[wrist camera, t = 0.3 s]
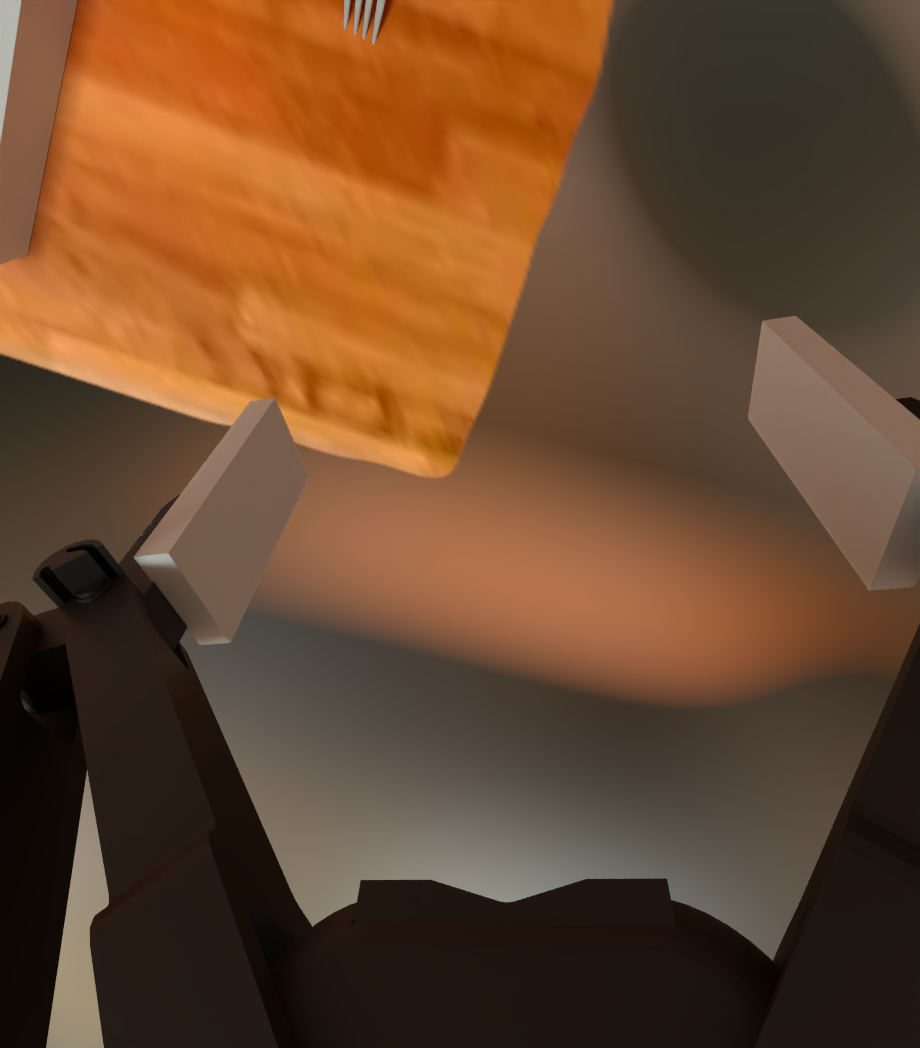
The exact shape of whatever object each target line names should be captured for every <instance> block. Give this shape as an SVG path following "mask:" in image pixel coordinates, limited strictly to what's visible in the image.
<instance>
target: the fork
mask: <svg viewBox="0 0 920 1048" xmlns="http://www.w3.org/2000/svg"><path fill="white" fill-rule="evenodd" d="M385 1H386V0H377V6H376V13H375V21H374V29H373V37H372V44H373V45H374V44H375V42H376V39H377V35H378V31H379V27H380V23H381V18H382V14H383V10H384V5H385ZM350 2H351V0H344V29H345V30H346V28H347V26H348V18H349V10H350ZM372 3H373V0H366V4H365V14H364V24H363V37H362V39H365V37H366V34H367V29H368V24H369V19H370V13H371V8H372ZM361 5H362V0H356V2H355V17H354V34H355V35H356V33H357V30H358V24H359V18H360V11H361Z"/></svg>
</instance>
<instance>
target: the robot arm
mask: <svg viewBox="0 0 920 1048" xmlns="http://www.w3.org/2000/svg"><path fill="white" fill-rule="evenodd" d="M748 420H749V421H750V422H751V424H752V425H753V427H754V428H755V430H756V431H757V432H758V434H759V435H760V437H761V438H762V439H763V441H764V442H765V444H766V445H767V447H768V448H769V449H770V451H771V452H772V454H773V455H774V456H775V457H776V459H777V460H778V462H779V464H780V465H781V466H782V468H783V469H784V470H785V472H786V473H787V475H788V476H789V478H790V479H791V481H792V482H793V483H794V485H795V486H796V488H797V489H798V490H799V492H800V493H801V495H802V496H803V497H804V499H805V500H806V502H807V503H808V504H809V506H810V507H811V509H812V510H813V512H814V513H815V515H816V516H817V517H818V519H819V520H820V522H821V523H822V524H823V526H824V527H825V529H826V530H827V531H828V533H829V534H830V536H831V537H832V539H833V540H834V541H835V543H836V544H837V546H838V547H839V548H840V550H841V551H842V553H843V554H844V556H845V557H846V558H847V560H848V561H849V563H850V564H851V565H852V567H853V568H854V570H855V571H856V572H857V574H858V575H859V577H860V578H861V580H862V581H863V582H864V584H865V585H866V587H867V588H868V590H883V589H895V588H907V587H915V585H916V583H917V581H918V579H919V576H920V401H919V400H916V399H914V398H912V397H909V398H901V399H894V398H893V397H892V396H891V395H889V394H888V393H887V392H886V391H885V390H883V389H882V388H881V387H880V386H879V385H878V384H876V383H875V382H874V381H873V380H872V379H870V378H869V377H868V376H867V375H866V374H864V373H863V372H862V371H861V370H860V369H859V368H857V367H856V366H855V365H854V364H852V363H851V362H850V361H849V360H848V359H847V358H845V357H844V356H843V355H842V354H841V353H839V352H838V351H837V350H836V349H835V348H833V347H832V346H831V345H830V344H829V343H827V342H826V341H825V340H824V339H823V338H821V337H820V336H819V335H818V334H817V333H816V332H814V331H813V330H812V329H811V328H809V327H808V326H807V325H806V324H805V323H804V322H802V321H801V320H800V319H799V318H797V317H796V316H790V317H785V318H778V319H772V320H765V321H762V327H761V334H760V340H759V347H758V353H757V360H756V367H755V374H754V380H753V386H752V393H751V400H750V406H749V413H748ZM308 477H309V475H308V473H307V471H306V468H305V466H304V464H303V461H302V459H301V457H300V454H299V452H298V450H297V448H296V445H295V443H294V441H293V438H292V436H291V434H290V431H289V429H288V427H287V424H286V422H285V420H284V417H283V415H282V413H281V411H280V408H279V406H278V404H277V401H276V399H275V398H270V399H264V400H257V401H251V402H250V403H249V404H248V406H247V407H246V408H245V410H244V411H243V412H242V414H241V415H240V416H239V418H238V419H237V420H236V422H235V423H234V424H233V426H232V427H231V428H230V429H229V431H228V432H227V434H226V435H225V436H224V437H223V439H222V440H221V442H220V443H219V444H218V445H217V447H216V448H215V449H214V451H213V452H212V453H211V455H210V456H209V458H208V459H207V460H206V462H205V463H204V464H203V465H202V467H201V468H200V469H199V471H198V472H197V473H196V475H195V476H194V478H193V479H192V480H191V481H190V483H189V484H188V485H187V487H186V488H185V489H184V491H183V492H182V493H181V495H178V496H177V497H176V498H174V499H173V500H172V501H170V502H169V503H168V504H167V505H165V506H164V507H163V508H162V509H161V510H160V511H159V513H158V514H157V515H156V517H155V518H154V519H153V520H152V524H151V525H149V526H148V527H147V528H146V529H145V531H144V532H143V536H140V537H139V539H138V540H137V541H136V542H135V544H134V545H133V546H132V548H131V549H130V550H129V552H128V553H127V554H126V555H125V557H124V558H123V559H122V561H121V562H120V563H119V564H118V563H117V562H116V561H115V560H114V558H113V557H112V556H111V554H110V553H109V552H108V551H107V550H106V548H105V547H104V545H103V544H101V542H100V541H98V540H85V541H80V542H76V543H74V544H71V545H69V546H66V547H64V548H62V549H61V550H59V551H57V552H55V553H54V554H52V555H51V556H50V557H48V558H47V559H46V560H45V561H44V562H42V563H41V565H40V566H39V567H38V568H37V569H36V571H35V572H34V576H33V580H34V581H35V582H36V583H37V585H38V586H39V587H40V588H41V589H42V590H43V591H44V592H45V593H46V594H47V595H48V596H49V597H50V599H52V601H53V602H54V603H55V604H56V605H57V606H58V607H59V608H56V609H53V610H50V611H47V612H44V613H40V614H38V615H35V616H33V615H32V614H31V613H30V612H29V611H28V610H27V609H26V608H25V607H24V606H23V605H22V604H21V603H19V602H6V603H2V604H0V1048H46V1044H47V1037H48V1030H49V1023H50V1017H51V1010H52V1003H53V996H54V989H55V982H56V976H57V969H58V962H59V955H60V949H61V942H62V935H63V928H64V921H65V915H66V908H67V901H68V895H69V888H70V881H71V874H72V868H73V861H74V854H75V847H76V841H77V834H78V827H79V820H80V813H81V807H82V799H83V793H84V786H85V779H86V772H87V770H88V776H89V782H90V787H91V793H92V799H93V805H94V811H95V816H96V822H97V828H98V834H99V840H100V845H101V851H102V857H103V863H104V868H105V875H106V880H107V886H108V892H109V905H108V906H107V907H106V908H105V909H103V910H102V911H101V912H100V913H98V914H97V915H95V916H94V918H93V921H92V924H91V926H90V948H91V955H92V963H93V970H94V977H95V984H96V992H97V1000H98V1007H99V1014H100V1022H101V1029H102V1036H103V1044H104V1048H920V624H919V626H918V629H917V631H916V633H915V635H914V638H913V640H912V642H911V645H910V647H909V650H908V652H907V654H906V657H905V659H904V661H903V663H902V666H901V668H900V671H899V673H898V675H897V678H896V680H895V682H894V685H893V687H892V689H891V691H890V694H889V696H888V698H887V701H886V703H885V705H884V708H883V710H882V712H881V714H880V717H879V719H878V721H877V724H876V726H875V729H874V731H873V733H872V735H871V738H870V740H869V742H868V745H867V747H866V749H865V752H864V754H863V756H862V759H861V761H860V763H859V766H858V768H857V770H856V773H855V775H854V778H853V780H852V782H851V785H850V787H849V789H848V791H847V794H846V796H845V798H844V801H843V803H842V805H841V808H840V810H839V812H838V815H837V817H836V819H835V821H834V824H833V826H832V829H831V831H830V833H829V835H828V838H827V840H826V842H825V845H824V847H823V849H822V852H821V854H820V856H819V859H818V861H817V864H816V866H815V868H814V870H813V873H812V875H811V877H810V880H809V882H808V884H807V887H806V889H805V891H804V894H803V896H802V898H801V900H800V903H799V905H798V907H797V909H796V911H795V913H794V915H793V918H792V920H791V922H790V924H789V926H788V928H787V930H786V932H785V935H784V937H783V939H782V941H781V943H780V946H779V948H778V950H777V952H776V955H775V957H774V960H773V961H772V960H771V959H770V958H769V957H768V956H767V955H765V954H764V953H763V952H762V951H761V950H760V949H759V948H758V947H756V946H755V945H754V944H753V943H752V942H751V941H749V940H748V939H746V938H745V937H744V936H742V935H741V934H740V933H738V932H737V931H736V930H734V929H733V928H731V927H730V926H728V925H727V924H725V923H723V922H721V921H720V920H718V919H716V918H714V917H713V916H711V915H709V914H707V913H705V912H703V911H700V910H698V909H696V908H693V907H691V906H689V905H686V904H683V903H680V902H676V901H673V900H671V898H670V892H669V887H668V882H667V879H585V880H582V881H579V882H576V883H572V884H569V885H566V886H563V887H560V888H556V889H554V890H550V891H547V892H544V893H540V894H537V895H534V896H531V897H528V898H525V899H521V900H518V901H514V902H507V903H506V902H500V901H496V900H493V899H490V898H487V897H483V896H481V895H477V894H474V893H471V892H467V891H465V890H461V889H458V888H455V887H452V886H449V885H445V884H442V883H439V882H436V881H433V880H361V882H360V888H359V894H358V900H357V903H354V904H351V905H349V906H347V907H344V908H342V909H340V910H338V911H336V912H334V913H333V914H331V915H329V916H328V917H326V918H325V919H323V920H321V921H320V922H318V923H317V924H316V925H314V926H313V927H312V925H311V924H310V922H309V921H308V919H307V918H306V916H305V915H304V913H303V912H302V910H301V909H300V907H299V905H298V904H297V902H296V900H295V898H294V896H293V894H292V892H291V890H290V888H289V885H288V883H287V881H286V878H285V876H284V874H283V871H282V869H281V867H280V865H279V862H278V860H277V858H276V855H275V853H274V851H273V848H272V846H271V844H270V842H269V839H268V837H267V835H266V832H265V830H264V828H263V826H262V823H261V821H260V819H259V816H258V814H257V812H256V809H255V807H254V805H253V802H252V800H251V798H250V796H249V793H248V791H247V789H246V786H245V784H244V782H243V779H242V777H241V775H240V773H239V770H238V768H237V766H236V763H235V761H234V759H233V756H232V754H231V752H230V750H229V747H228V745H227V743H226V741H225V738H224V736H223V733H222V731H221V729H220V726H219V724H218V722H217V720H216V717H215V715H214V713H213V710H212V708H211V706H210V704H209V701H208V699H207V697H206V694H205V692H204V690H203V687H202V685H201V683H200V680H199V678H198V676H197V674H196V671H195V669H194V667H193V664H192V662H191V660H190V657H189V655H188V653H187V651H186V650H185V649H184V647H183V646H182V645H181V643H180V642H179V641H180V640H181V638H182V636H183V634H184V632H185V630H186V629H188V630H189V631H190V633H191V634H192V635H193V637H194V638H195V639H196V641H197V642H198V643H199V645H208V644H220V643H230V642H231V640H232V638H233V636H234V634H235V632H236V630H237V628H238V626H239V623H240V621H241V619H242V617H243V615H244V613H245V611H246V609H247V607H248V604H249V602H250V600H251V598H252V596H253V593H254V592H255V590H256V587H257V585H258V583H259V581H260V579H261V577H262V575H263V572H264V570H265V568H266V566H267V564H268V562H269V560H270V557H271V555H272V553H273V551H274V549H275V547H276V545H277V543H278V541H279V538H280V536H281V534H282V532H283V530H284V528H285V526H286V524H287V522H288V519H289V517H290V515H291V513H292V511H293V509H294V507H295V505H296V502H297V500H298V498H299V496H300V494H301V492H302V490H303V488H304V485H305V483H306V481H307V479H308Z"/></svg>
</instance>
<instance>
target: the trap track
mask: <svg viewBox="0 0 920 1048" xmlns="http://www.w3.org/2000/svg"><path fill="white" fill-rule="evenodd" d="M77 2H78V0H0V264H3V263H6V262H9V261H11V260H14V259H17V258H20V257H23V256H26V255H28V250H29V245H30V240H31V235H32V230H33V225H34V220H35V215H36V210H37V205H38V200H39V195H40V190H41V185H42V179H43V174H44V169H45V164H46V159H47V154H48V149H49V144H50V139H51V134H52V129H53V124H54V119H55V114H56V109H57V103H58V98H59V93H60V88H61V83H62V78H63V73H64V68H65V63H66V58H67V53H68V48H69V43H70V38H71V32H72V27H73V22H74V17H75V12H76V7H77Z"/></svg>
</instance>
